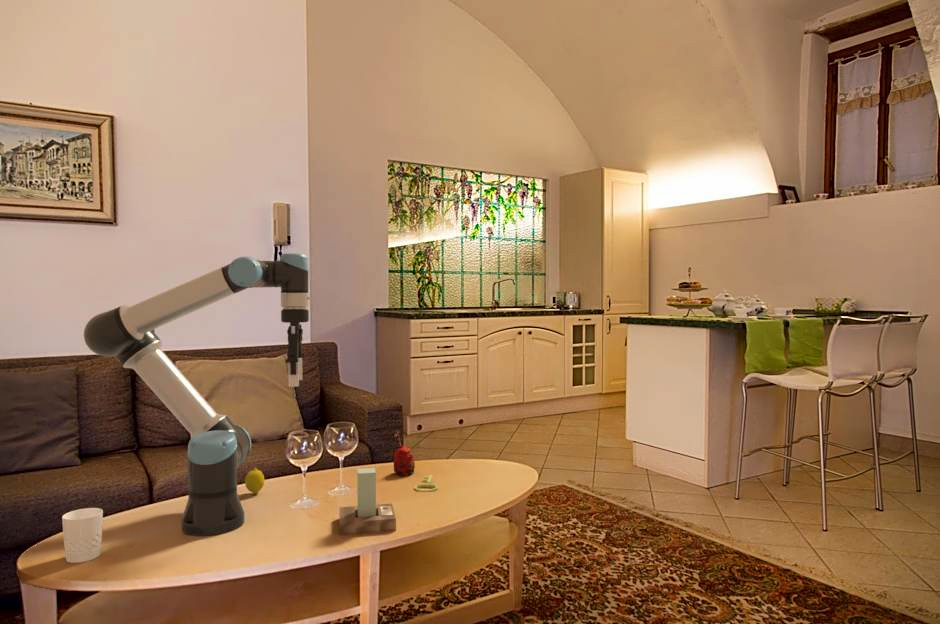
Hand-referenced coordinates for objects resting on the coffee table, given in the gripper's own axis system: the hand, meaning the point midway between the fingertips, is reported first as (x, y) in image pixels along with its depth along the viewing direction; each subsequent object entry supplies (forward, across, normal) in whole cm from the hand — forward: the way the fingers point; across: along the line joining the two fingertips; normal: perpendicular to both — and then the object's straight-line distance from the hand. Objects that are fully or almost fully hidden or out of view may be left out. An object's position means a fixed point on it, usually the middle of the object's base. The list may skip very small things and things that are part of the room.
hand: (295, 383), depth 176 cm
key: (+35, +10, -39) cm, 53 cm away
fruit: (+35, +13, +13) cm, 39 cm away
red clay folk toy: (+35, +25, -33) cm, 54 cm away
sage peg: (+35, -20, -19) cm, 44 cm away
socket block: (+35, -20, -19) cm, 44 cm away
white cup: (+35, -27, +45) cm, 63 cm away
